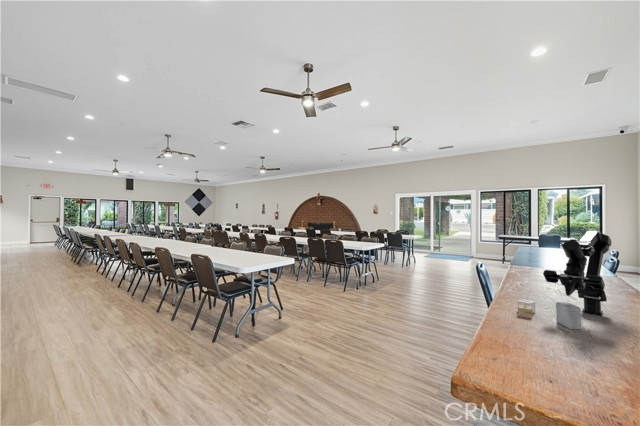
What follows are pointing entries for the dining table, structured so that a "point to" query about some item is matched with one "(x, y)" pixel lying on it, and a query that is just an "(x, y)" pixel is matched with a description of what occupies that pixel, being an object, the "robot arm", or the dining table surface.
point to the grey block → (527, 304)
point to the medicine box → (568, 315)
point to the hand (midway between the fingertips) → (567, 295)
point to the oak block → (525, 311)
